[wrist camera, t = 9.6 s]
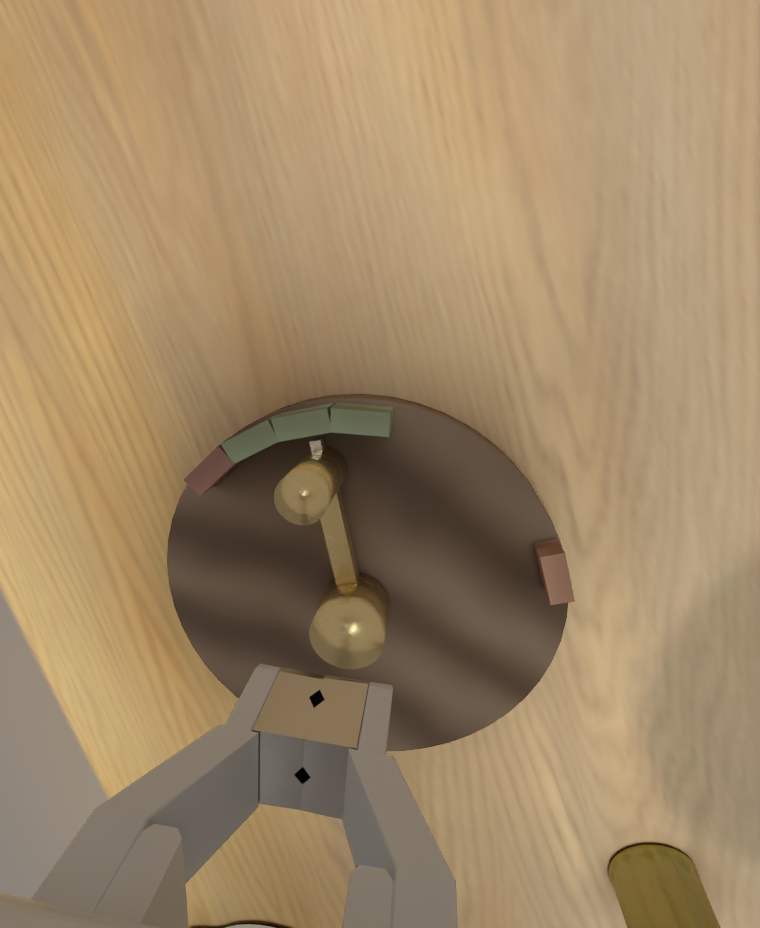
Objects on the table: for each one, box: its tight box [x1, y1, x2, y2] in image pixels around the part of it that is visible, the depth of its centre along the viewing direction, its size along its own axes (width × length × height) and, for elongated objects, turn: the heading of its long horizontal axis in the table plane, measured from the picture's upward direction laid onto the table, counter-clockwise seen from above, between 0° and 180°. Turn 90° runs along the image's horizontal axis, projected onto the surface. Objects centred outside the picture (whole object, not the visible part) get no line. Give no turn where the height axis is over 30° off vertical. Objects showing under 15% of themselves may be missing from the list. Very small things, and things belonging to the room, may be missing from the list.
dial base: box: [167, 394, 574, 751], centre depth 26 cm, size 24×24×4 cm
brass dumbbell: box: [274, 438, 390, 669], centre depth 22 cm, size 12×4×4 cm, turn 10°
